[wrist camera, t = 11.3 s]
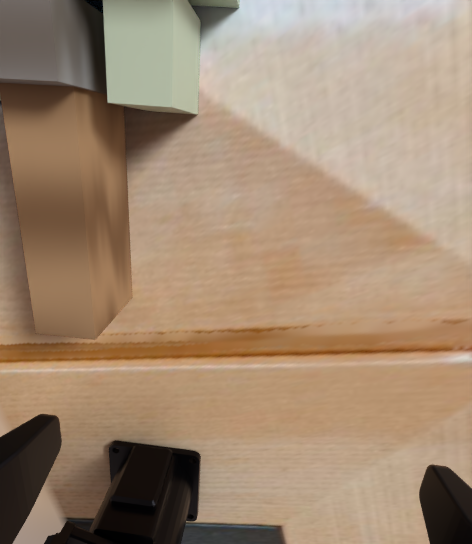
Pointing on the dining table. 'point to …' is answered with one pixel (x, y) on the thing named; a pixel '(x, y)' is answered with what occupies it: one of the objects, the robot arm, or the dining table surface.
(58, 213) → the hammer
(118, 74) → the pale green slab
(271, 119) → the dining table surface
